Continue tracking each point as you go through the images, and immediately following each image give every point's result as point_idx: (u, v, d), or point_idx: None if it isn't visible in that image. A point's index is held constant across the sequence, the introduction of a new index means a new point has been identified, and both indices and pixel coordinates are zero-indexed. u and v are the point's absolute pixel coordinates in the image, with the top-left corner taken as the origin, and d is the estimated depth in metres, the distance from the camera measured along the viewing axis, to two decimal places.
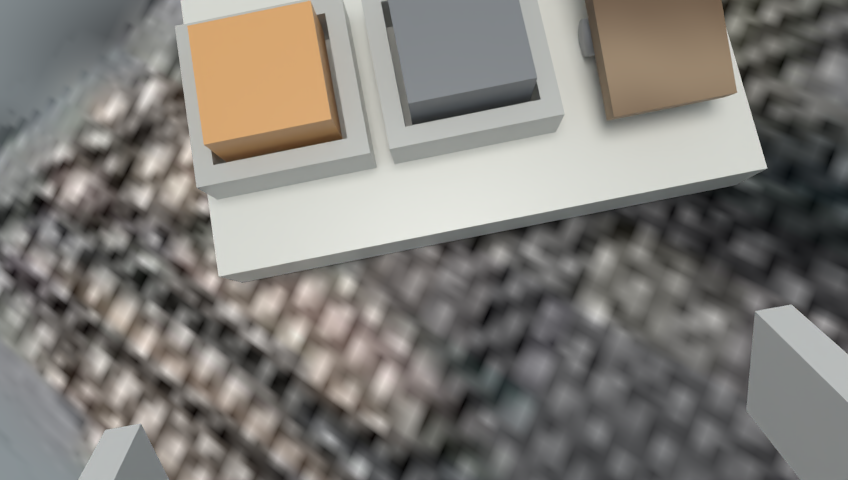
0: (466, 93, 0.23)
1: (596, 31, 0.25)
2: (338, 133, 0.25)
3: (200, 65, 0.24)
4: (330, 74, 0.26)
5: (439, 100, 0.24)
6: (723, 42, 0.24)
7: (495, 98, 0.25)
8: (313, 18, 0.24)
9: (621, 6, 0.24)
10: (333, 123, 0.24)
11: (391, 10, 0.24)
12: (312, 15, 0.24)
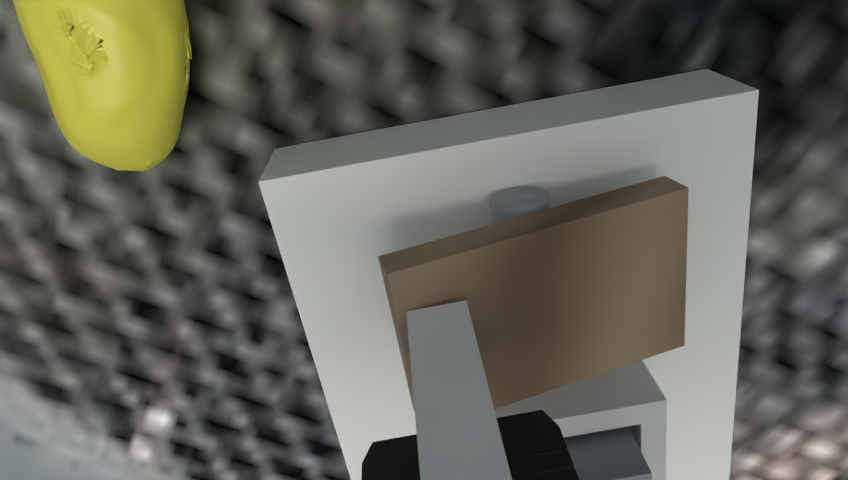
0: None
1: (570, 378, 0.17)
2: None
3: None
4: None
5: None
6: (616, 215, 0.15)
7: None
8: None
9: (547, 359, 0.17)
10: None
11: None
12: None
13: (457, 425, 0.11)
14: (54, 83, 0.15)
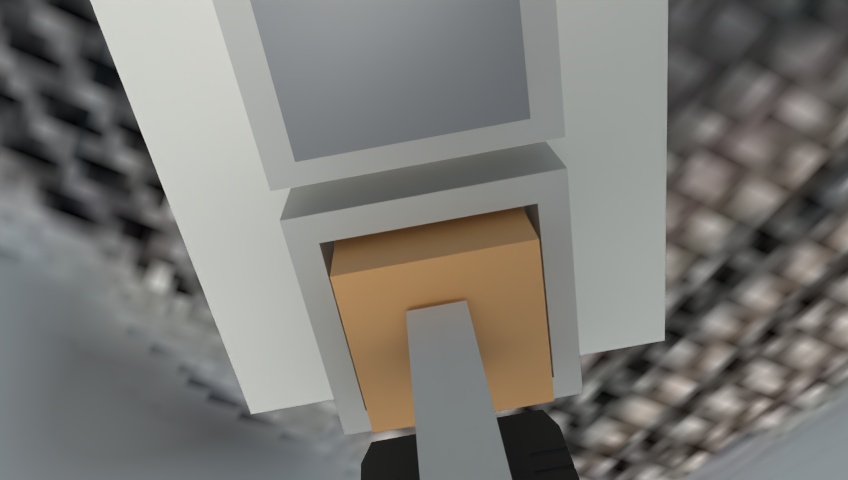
0: (519, 4, 0.12)
1: None
2: (523, 211, 0.16)
3: None
4: None
5: (521, 58, 0.13)
6: None
7: None
8: (360, 270, 0.15)
9: None
10: (534, 230, 0.15)
11: (345, 149, 0.13)
12: (356, 272, 0.15)
13: (456, 425, 0.11)
14: None
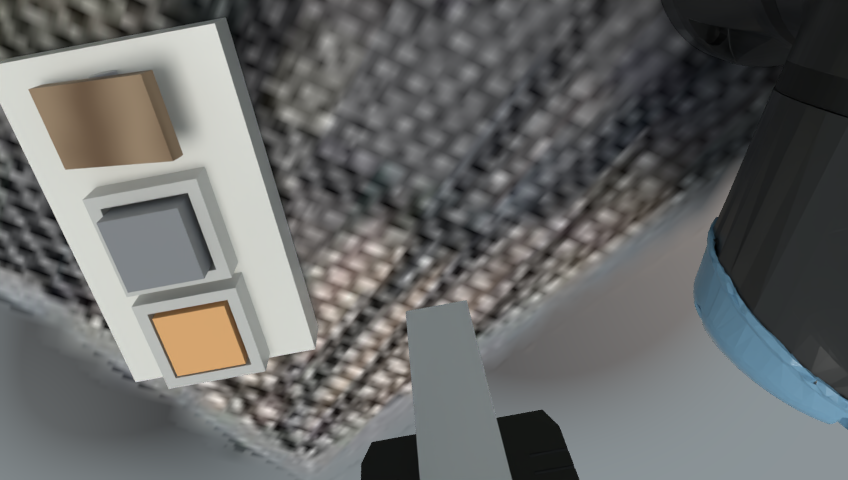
0: (193, 247, 0.38)
1: (125, 163, 0.37)
2: None
3: (200, 368, 0.44)
4: None
5: (199, 260, 0.39)
6: (111, 81, 0.34)
7: (191, 221, 0.39)
8: (163, 316, 0.42)
9: (106, 148, 0.36)
10: (225, 302, 0.42)
11: (144, 288, 0.39)
12: (161, 317, 0.42)
13: (457, 425, 0.11)
14: None
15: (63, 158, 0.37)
